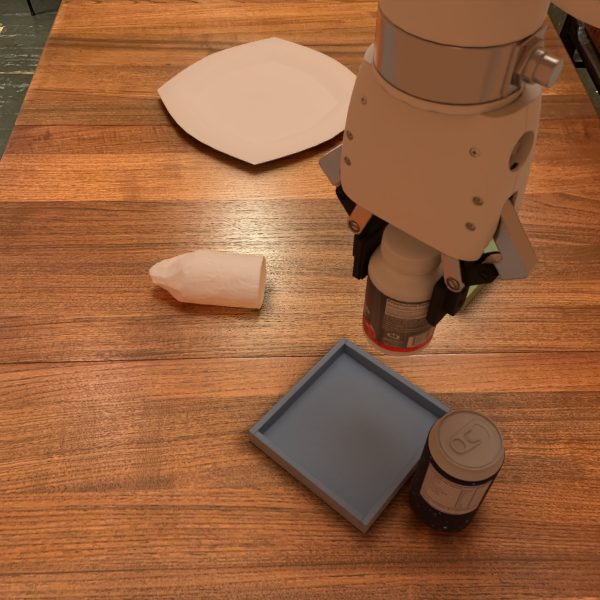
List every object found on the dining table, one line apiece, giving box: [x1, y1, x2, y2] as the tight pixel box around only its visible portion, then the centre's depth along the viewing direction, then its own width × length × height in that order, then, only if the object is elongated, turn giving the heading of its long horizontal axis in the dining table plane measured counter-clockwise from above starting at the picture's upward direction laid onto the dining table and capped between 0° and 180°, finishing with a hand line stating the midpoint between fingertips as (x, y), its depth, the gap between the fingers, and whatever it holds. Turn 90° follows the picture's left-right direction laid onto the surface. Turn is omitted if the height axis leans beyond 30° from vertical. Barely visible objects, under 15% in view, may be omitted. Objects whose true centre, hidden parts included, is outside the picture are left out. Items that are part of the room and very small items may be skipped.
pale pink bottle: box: [148, 249, 267, 310], centre depth 69 cm, size 6×12×6 cm, turn 84°
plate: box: [156, 36, 357, 166], centre depth 93 cm, size 27×27×2 cm
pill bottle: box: [361, 223, 443, 358], centre depth 45 cm, size 5×5×10 cm
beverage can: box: [408, 408, 506, 534], centre depth 52 cm, size 6×6×12 cm
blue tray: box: [248, 336, 454, 535], centre depth 60 cm, size 13×14×2 cm
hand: (405, 287), depth 45 cm, fingers closed on pill bottle, 5 cm apart
